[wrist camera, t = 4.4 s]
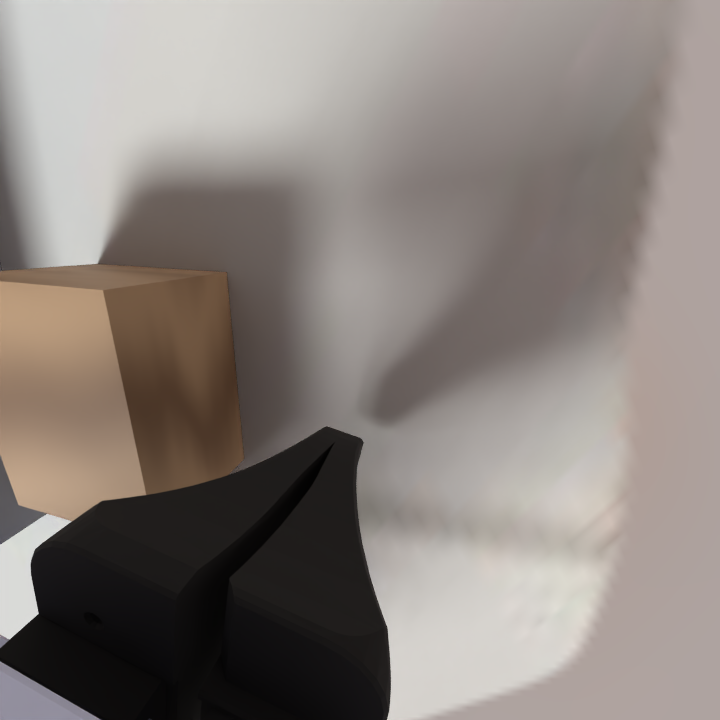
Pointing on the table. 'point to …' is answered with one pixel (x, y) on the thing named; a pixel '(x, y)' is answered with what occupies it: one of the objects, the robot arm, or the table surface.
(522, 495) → the table surface
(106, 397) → the tan block
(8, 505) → the gray rectangular bar
